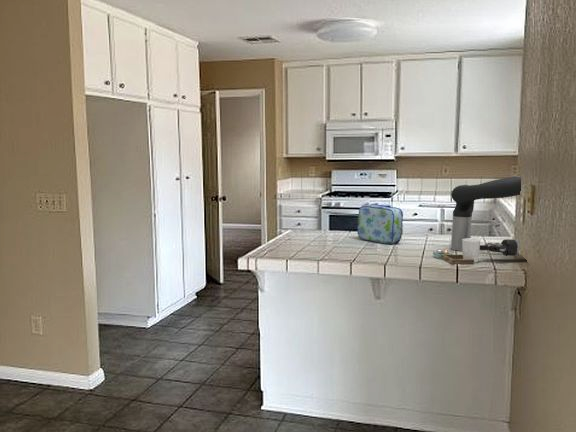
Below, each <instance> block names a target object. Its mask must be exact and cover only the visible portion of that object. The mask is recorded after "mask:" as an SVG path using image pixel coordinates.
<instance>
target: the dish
mask: <svg viewBox="0 0 576 432" xmlns="http://www.w3.org/2000/svg"><path fill="white" fill-rule="evenodd" d="M442 255H454V254H453V253H451V252H449V254H438V253H436V251H433V252H432V256H434V258H435V259H439V260H443V259H442Z"/></svg>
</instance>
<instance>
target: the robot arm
mask: <svg viewBox="0 0 576 432" xmlns="http://www.w3.org/2000/svg"><path fill="white" fill-rule="evenodd" d="M521 177H522V176H514V177H504V178H503V177H502V178H498V179H494V180H490V181H486V182H483V183H479V184H471V185H469V184H462V185H461V184H460V185H457V186H455V187H454V188H453V189H452V191H451V199H452V201H454V202H455V208H454V209H453V211H452V223H451V224H452V226H451V227H452V228H451V240H450V241H451V242H450V243H451V244H450V248H451V250H453V251H459V252H460V251H461V252H462V239H466V238H472V237H471V236H472V218H473V217H472V216H473V213H474V207H475V201H476V200H477V201H478V200H486V199H489V200H492V199H493V200H494V199H504V198H511V197H517V196H521V195H520V191H521ZM519 240H520V239H519ZM519 240H518V239H516V238H515V239H512V238H509V239H503V240H502V241H501V242H494V243H493V242H487V243H484V244H480V251H487V252H491V253H492V252H493V253H501V254H502V255H503V256H505V257H508V256H510V257H511V256H513V257H514V256H517V257H518V256H520V255H519V249H520V245H519Z"/></svg>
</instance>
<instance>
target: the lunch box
mask: <svg viewBox="0 0 576 432" xmlns="http://www.w3.org/2000/svg"><path fill="white" fill-rule="evenodd" d="M357 215H358V216H357V235H358V237H359V239H361V240H364V241H368V242H369V241H370V242H375V243H379V244H380V243H381V244H385V245H386V244H398V243H399V242H400V241H401V240H402V238H403V237H402V235H403V231H404V230H403V229H404V228H403V227H404V224H403V219H404V211H403V210H402V209H400V207H396V206H392V205H388V204H387V205H386V204H374V203H371V204H364V205H361V206H360V207H359V210H358V214H357Z"/></svg>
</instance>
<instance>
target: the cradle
mask: <svg viewBox="0 0 576 432" xmlns="http://www.w3.org/2000/svg"><path fill="white" fill-rule="evenodd" d="M441 260H443V261H444V260H445V261H444V262H447V263H448V264H451V265H453V266H455V264H461V265H474V264H475V263H474V260H473V259H469V260H463V254H453V255H442V259H441Z"/></svg>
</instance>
